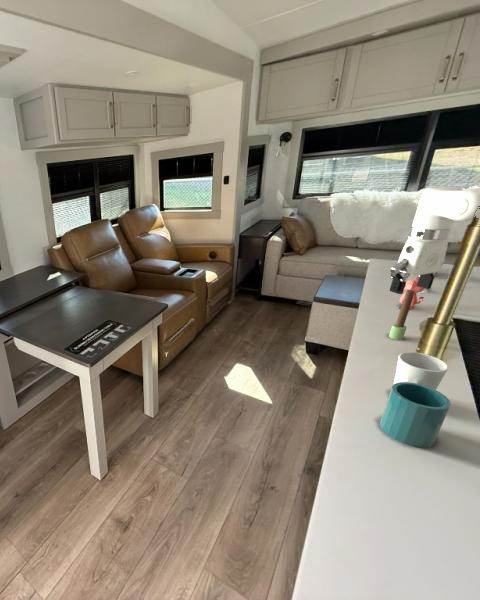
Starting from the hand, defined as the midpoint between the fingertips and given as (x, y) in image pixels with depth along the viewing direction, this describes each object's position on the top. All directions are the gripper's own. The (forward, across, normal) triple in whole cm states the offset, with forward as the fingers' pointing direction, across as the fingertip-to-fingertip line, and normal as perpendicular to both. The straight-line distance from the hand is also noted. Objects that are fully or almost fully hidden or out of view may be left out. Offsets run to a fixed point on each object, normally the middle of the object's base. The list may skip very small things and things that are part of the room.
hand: (409, 289), depth 95 cm
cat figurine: (+18, +25, +15) cm, 34 cm away
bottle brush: (+17, 0, -1) cm, 17 cm away
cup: (+17, -25, -23) cm, 38 cm away
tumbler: (+17, -36, -31) cm, 50 cm away
